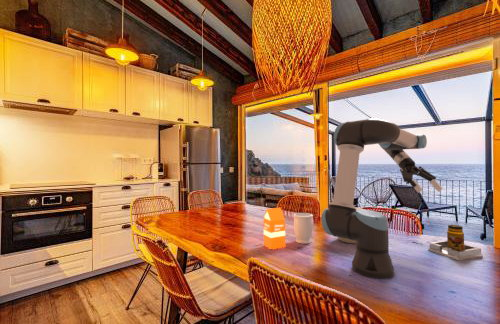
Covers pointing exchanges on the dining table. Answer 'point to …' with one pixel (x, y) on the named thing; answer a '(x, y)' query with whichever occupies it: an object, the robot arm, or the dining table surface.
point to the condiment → (455, 237)
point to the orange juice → (274, 228)
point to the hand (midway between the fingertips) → (430, 190)
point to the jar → (303, 227)
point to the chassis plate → (455, 251)
